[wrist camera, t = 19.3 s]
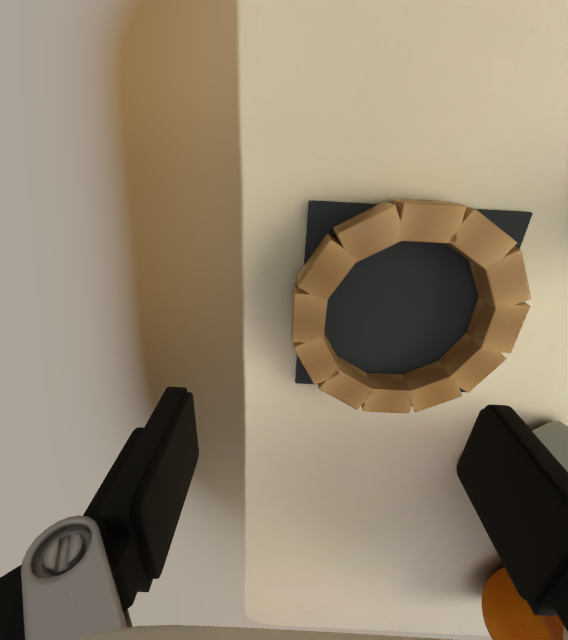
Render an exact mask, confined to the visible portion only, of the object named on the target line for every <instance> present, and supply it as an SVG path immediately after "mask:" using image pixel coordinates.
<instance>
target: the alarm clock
mask: <svg viewBox="0 0 568 640" xmlns="http://www.w3.org/2000/svg"><path fill="white" fill-rule="evenodd" d="M532 432H533V433H534V434H535V435H536V436H537V437H538V438H539V440H540V441H541V442H542V443H543V444H544V445H545V447H546V448H547V449H548V450H549V451H550V452H551V453H552V455H553V456H554V457H555V458H556V459H557V460H558V461H559V463H560V464H561V465H562V466H563V467H564V468H565V469H566V471H567V472H568V426H566V425H565V424H563V423H562V422H549V423H547V424H545V425H543V426H540V427H538V428H536V429H534V430H532ZM539 616H540V615H539ZM540 618H541V620H542V621H543V623H544V625H545V627H546V629H547V631H548V632H549V634H550V636H551V638H552V640H563V631H564V625H563V623H562V622H561V620H560V618H559V616H558V615H556V616H540Z"/></svg>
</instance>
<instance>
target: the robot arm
mask: <svg viewBox="0 0 568 640" xmlns="http://www.w3.org/2000/svg"><path fill="white" fill-rule="evenodd" d="M198 454H199V448H198V439H197V430H196V420H195V411H194V402H193V394H192V393H190V392H187V389H186V388H182V387H167V389H166V390H165V392H164V393H163V395H162V397H161V399H160V401H159V403H158V404H157V406H156V408H155V410H154V411H153V413H152V415H151V417H150V419H149V420H148V422H147V424H146V426H145V428H136V429H135V430H134V431H133V432H132V434H131V436H130V437H129V439H128V440H127V442H126V444H125V445H124V447H123V449H122V451H121V452H120V454H119V456H118V458H117V459H116V461H115V462H114V464H113V466H112V467H111V469H110V471H109V472H108V474H107V476H106V478H105V479H104V481H103V483H102V484H101V486H100V488H99V489H98V491H97V493H96V494H95V496H94V498H93V500H92V501H91V503H90V505H89V506H88V508H87V510H86V512H85V513H84V515H83V516H73V517H68V518H66V519H63V520H61V521H58V522H57V523H55V524H53V525H52V526H50V527H49V528H48V529H46V530H45V531H44V532H43V533H41V534H40V535H39V536H38V537H37V538H36V539H35V541H34V542H33V543H32V545H31V546H30V547H29V548H28V550H27V552H26V555H25V557H24V559H23V562H22V565H20V566H19V567H17V568H15V569H14V570H12V571H10V572H9V573H7V574H6V575H4V576H2V577H1V578H0V640H450V639H434V638H418V637H401V636H384V635H367V634H351V633H333V632H315V631H296V630H277V629H260V628H259V629H258V628H240V627H213V626H182V625H161V626H136V627H133V626H132V622H131V619H130V615H129V612H128V608H129V607H130V606H132V604H133V602H134V600H135V597H136V594H137V592H149V589H150V586H151V583H152V581H153V579H158V578H159V577H160V575H161V573H162V570H163V567H164V564H165V561H166V557H167V554H168V551H169V548H170V545H171V542H172V539H173V536H174V533H175V529H176V526H177V523H178V520H179V517H180V514H181V511H182V508H183V505H184V502H185V498H186V495H187V492H188V489H189V486H190V483H191V480H192V477H193V473H194V470H195V467H196V464H197V461H198ZM457 474H458V477H459V479H460V481H461V483H462V485H463V487H464V489H465V491H466V493H467V495H468V497H469V499H470V501H471V502H472V504H473V506H474V508H475V510H476V512H477V514H478V516H479V518H480V520H481V522H482V524H483V526H484V528H485V530H486V532H487V534H488V536H489V537H490V539H491V541H492V543H493V545H494V547H495V549H496V551H497V553H498V555H499V557H500V559H501V561H502V563H503V565H504V567H505V569H506V571H507V572H508V574H509V576H510V578H511V580H512V582H513V584H514V586H515V588H516V590H517V592H518V593H519V595H520V596H521V597H522V598H523V599H524V600H526V601H527V602H528V604H529V606H530V608H531V610H532V612H533V614H534V615H540V616H556V615H558V616H559V618H560V620H561V622H562V623H563V625H564V631H563V640H568V472H567V471H566V469H565V468H564V467H563V466H562V465H561V464H560V463H559V461H558V460H557V459H556V458H555V457H554V456H553V455H552V453H551V452H550V451H549V450H548V449H547V448H546V447H545V445H544V444H543V443H542V442H541V441H540V440H539V438H538V437H537V436H536V435H535V434H534V433H533V432H532V430H531V429H530V428H529V427H528V426H527V425H526V424H525V422H524V421H523V420H522V419H521V418H520V417H519V416H518V414H517V413H516V412H515V411H514V410H513V409H512V408H511V407H509V406H503V405H488V406H486V407H485V409H482V410H481V411H480V413H479V415H478V417H477V420H476V422H475V424H474V427H473V429H472V431H471V434H470V436H469V438H468V441H467V443H466V445H465V448H464V450H463V452H462V455H461V457H460V459H459V462H458V464H457Z"/></svg>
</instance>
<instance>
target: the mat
mask: <svg viewBox="0 0 568 640" xmlns="http://www.w3.org/2000/svg"><path fill="white" fill-rule="evenodd" d="M376 205H378V204H366V203H347V202H327V201H309V208H308V221H307V234H306V248H305V261H304V265H305V264H306V262H307V261H308V260H309V258H310V257H311V255H312V254H313V252H314V251H315V249H316V248H317V246H318V245H319V244H320V242H321V241H322V239H323V238H324V236H325V235H326V234H327V233H328V234H330V235H331V236H333V237H334V238H336V239H337V236H336V234H335V232H334V230H333V228H334V227H335V226H337V225H339V224H341V223H343V222H345V221H347V220H349V219H351V218H353V217H355V216H356V215H358V214H360V213H362V212H364V211H366V210H368V209H370V208H372V207H374V206H376ZM476 210H477V211H479V212H480V213H481V214H482V215H484V216H485V217H486V218H487V219H489V220H490V221H491V222H492V223H494V224H495V225H496V226H497V227H499V228H500V229H501V230H502V231H504V232H505V233H506V234H507V235H509V236H510V237H511V238H512V239H514V240H515V241H516V242H517V244H516V245H515V246H514V247H516V248H519V249H520V246H521V243H522V241H523V238H524V235H525V233H526V230H527V227H528V224H529V222H530V219H531V216H532V213H531V212H519V211H500V210H481V209H476ZM337 240H338V239H337ZM478 297H479V296H478V293H477V289H476V285H475V282H474V278H473V275H472V271H471V267H470V264H469V261H468V260H467V259H465V258H464V257H463V256H461V255H460V254H459V253H457V252H456V251H455V250H453V249H452V248H451V247H449V246H448V245H447V244H445V243H429V242H410V241H401V242H398V243H396V244H394V245H392V246H390V247H388V248H386V249H384V250H382V251H380V252H377V253H375V254H373V255H371V256H369V257H367V258H365V259H363V260H361V261H358V262H356V263H355V264H354V266H353V267H352V268H351V270H350V271H349V272H348V273H347V275H346V276H345V277H344V279H343V280H342V281H341V283H340V284H339V285H338V287H337V288H336V289H335V291H334V292H333V293H332V295H331V296H330V297H329V299H328V302H327V311H326V320H325V329H324V333H325V335H326V336H327V338H328V340H329V342H330V344H331V346H332V348H333V350H334V352H335V354H336V356H338V357H340V358H342V359H343V360H345V361H347V362H348V363H350V364H352V365H354V366H355V367H357V368H359V369H361V370H362V371H364V372H366V373H386V374H404V373H407V372H410V371H412V370H415V369H417V368H420V367H423V366H425V365H428V364H431V363H433V362H436V361H438V360H439V359H440V358H441V357H442V356H443V355H444V354H445V353H446V352H447V351H448V350H449V349H450V348H451V347H452V346H453V345H454V344H455V343H456V342H457V341H458V340H459V339H460V338H461V337H462V336H464V335H465V334H466V333H467V330H468V327H469V324H470V321H471V318H472V315H473V312H474V309H475V306H476V303H477V300H478ZM295 383H302V384H314V383H313V381H312V379H311V378H310V376H309V374H308V372H307V371H306V369H305V367H304V366H303V364H302V362H301V360H300V359H299V357H298V355H297V365H296V379H295ZM459 389H460V392H466V391H465V390H463V389H461V388H460V387H459Z"/></svg>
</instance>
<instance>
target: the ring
mask: <svg viewBox="0 0 568 640" xmlns="http://www.w3.org/2000/svg"><path fill="white" fill-rule="evenodd" d="M333 230H334V232H335V234H336V236H337V239H338V240H337V239H336V238H334V237H333V236H331V235H330V234H328V233H327V234H326V235H325V236H324V238H323V239H322V241H321V242H320V244H319V245H318V246H317V248H316V249H315V251H314V252H313V254H312V255H311V257H310V258H309V260H308V261H307V262H306V264H305V265H304V267H303V268H302V270H301V271H300V273H299V274H298V276H297V283H294V297H293V313H292V342H293V348H294V350H295V352H296V354H297V355H298V357H299V359H300V360H301V362H302V364H303V366H304V367H305V369H306V371H307V372H308V374H309V376H310V378H311V379H312V381H313V383H314V384H315V385H316V384H319V389H320V390H322V391H324V392H326V393H327V394H329V395H331V396H333V397H335V398H337V399H338V400H340V401H342V402H344V403H346V404H348V405H349V406H351V407H353V408H355V409H358V408H359V407H360V406H362V410H363V411H370V412H390V413H409V411H410V407H411V405H412V407H413V409H414V411H415V412H418V411H421V410H424V409H427V408H429V407H432V406H435V405H438V404H441V403H444V402H446V401H449V400H452V399H455V398H458V397H461V396H462V395H461V392H460V389H459V387H460V388H461V389H463V390H465V391H466V392H470V391H471V390H472V389H473V388H474V387H475V386H476V385H478V384H479V383H480V382H481V381H482V380H483V379H484V378H485V377H487V376H488V375H489V374H490V373H491V372H492V371H493V370H494V369H496V368H497V367H498V366H499V365H500V364H501V363H502V362H504V361H505V360H506V357H504V356H503V355H502V354H501V353H500V352H506V353H511V351H512V349H513V346H514V344H515V341H516V339H517V337H518V334H519V332H520V329H521V327H522V325H523V322H524V320H525V317H526V315H527V313H528V310H529V308H530V305H528V304H526V303H525V302H524V301H526V300H529V299H530V298H531V296H530V291H529V286H528V281H527V276H526V271H525V266H524V261H523V257H522V252H521V249H519V248H516V247H514V246H515V245H516V244H517V242H516V241H515V240H514V239H512V238H511V237H510V236H509V235H507V234H506V233H505V232H504V231H502V230H501V229H500V228H499V227H497V226H496V225H495V224H494V223H492V222H491V221H490V220H489V219H487V218H486V217H485V216H484V215H482V214H481V213H480V212H479V211H477V210H476V209H474V208H469V207H466V206H465V205H462V204H457V203H453V202H444V201H424V200H404V199H394V200H393V203H392V204H391V203H389V202H386V201H384V202H382V203H380V204H378V205H376V206H374V207H372V208H370V209H368V210H366V211H364V212H362V213H360V214H358V215H356V216H355V217H353V218H351V219H349V220H347V221H345V222H343V223H341V224H339V225H337V226H335V227H334V228H333ZM401 241H410V242H429V243H445V244H447V245H448V246H449V247H451V248H452V249H453V250H455V251H456V252H457V253H459V254H460V255H461V256H463V257H464V258H465V259H467V260H468V261H469V264H470V267H471V271H472V275H473V278H474V282H475V285H476V289H477V293H478V296H479V297H478V300H477V303H476V306H475V309H474V312H473V315H472V318H471V321H470V324H469V327H468V330H467V333H466V334H465V335H464V336H462V337H461V338H460V339H459V340H458V341H457V342H456V343H455V344H454V345H453V346H452V347H451V348H450V349H449V350H448V351H447V352H446V353H445V354H444V355H443V356H442V357H441V358H440V359H439V360H438V361H436V362H433V363H431V364H428V365H425V366H423V367H420V368H417V369H415V370H412V371H410V372H407V373H404V374H386V373H366V372H364V371H362V370H361V369H359V368H357V367H355V366H354V365H352V364H350V363H348V362H347V361H345V360H343V359H342V358H340V357H338V356H336V354H335V352H334V350H333V348H332V346H331V344H330V342H329V340H328V338H327V336H326V335H325V333H324V329H325V320H326V311H327V302H328V299H329V297H330V296H331V295H332V293H333V292H334V291H335V289H336V288H337V287H338V285H339V284H340V283H341V281H342V280H343V279H344V277H345V276H346V275H347V273H348V272H349V271H350V270H351V268H352V267H353V266H354V264H355V263H356V262H358V261H361V260H363V259H365V258H367V257H369V256H371V255H373V254H375V253H377V252H380V251H382V250H384V249H386V248H388V247H390V246H392V245H394V244H396V243H398V242H401Z"/></svg>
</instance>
